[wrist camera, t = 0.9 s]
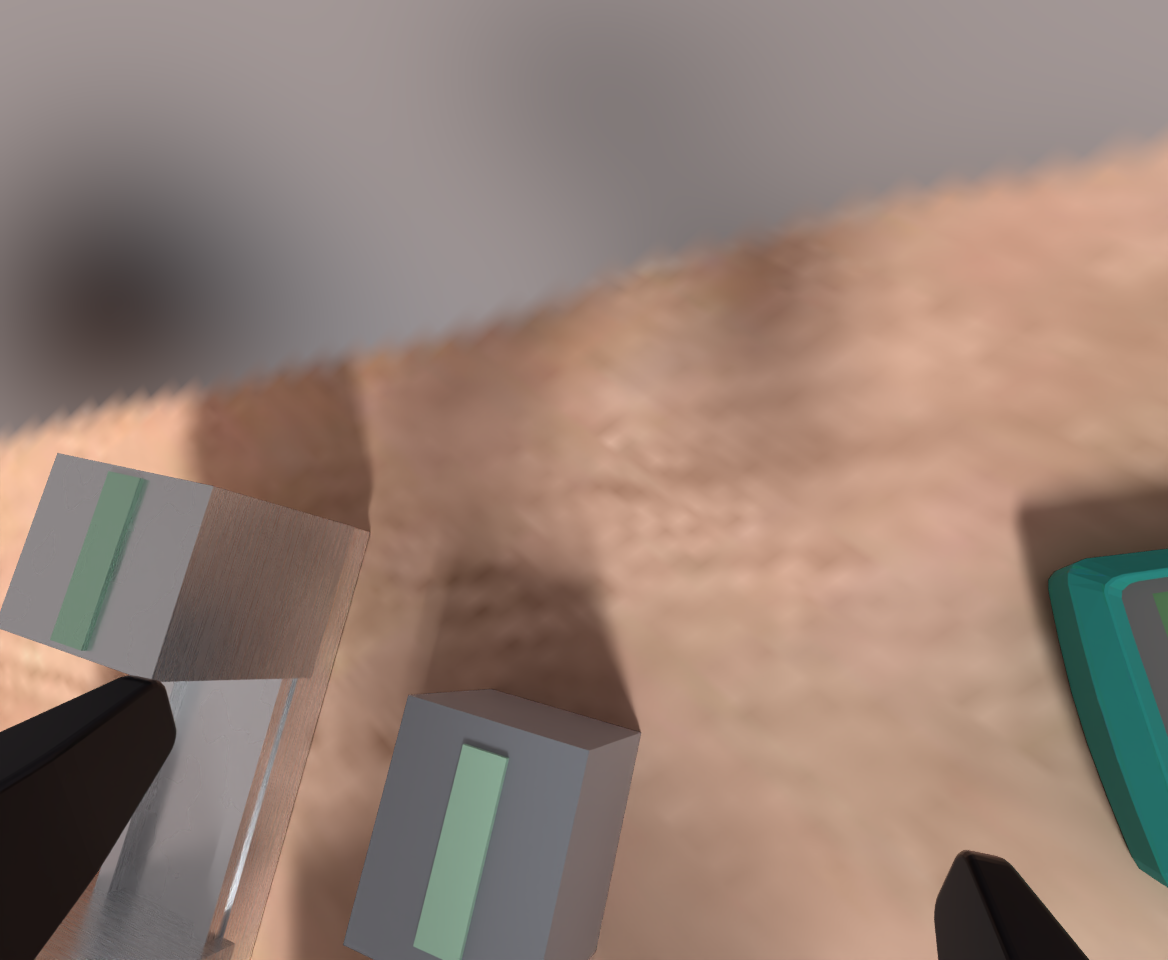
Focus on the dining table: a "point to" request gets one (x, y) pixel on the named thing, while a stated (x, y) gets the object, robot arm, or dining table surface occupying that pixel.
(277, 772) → the grey metal u-shaped block
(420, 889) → the block
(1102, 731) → the digital multimeter
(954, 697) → the dining table surface
